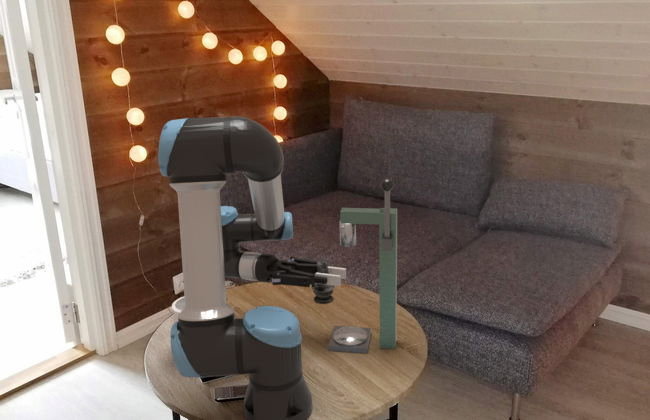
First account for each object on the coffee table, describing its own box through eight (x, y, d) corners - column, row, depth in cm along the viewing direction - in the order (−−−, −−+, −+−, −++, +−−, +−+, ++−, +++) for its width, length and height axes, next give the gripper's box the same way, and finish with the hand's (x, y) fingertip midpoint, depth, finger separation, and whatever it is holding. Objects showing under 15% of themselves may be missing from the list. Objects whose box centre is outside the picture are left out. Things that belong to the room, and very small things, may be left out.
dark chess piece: (331, 292, 153) (330, 251, 150) (337, 302, 148) (336, 260, 144) (310, 295, 152) (308, 254, 148) (315, 306, 147) (313, 263, 143)
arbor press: (394, 355, 145) (395, 181, 130) (328, 350, 148) (322, 179, 133) (397, 334, 155) (398, 169, 140) (334, 330, 158) (329, 168, 143)
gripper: (273, 267, 162) (352, 276, 155) (246, 293, 147) (333, 305, 140) (271, 242, 160) (352, 251, 152) (244, 267, 145) (332, 277, 137)
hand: (342, 277), depth 146 cm, fingers closed on dark chess piece, 4 cm apart
